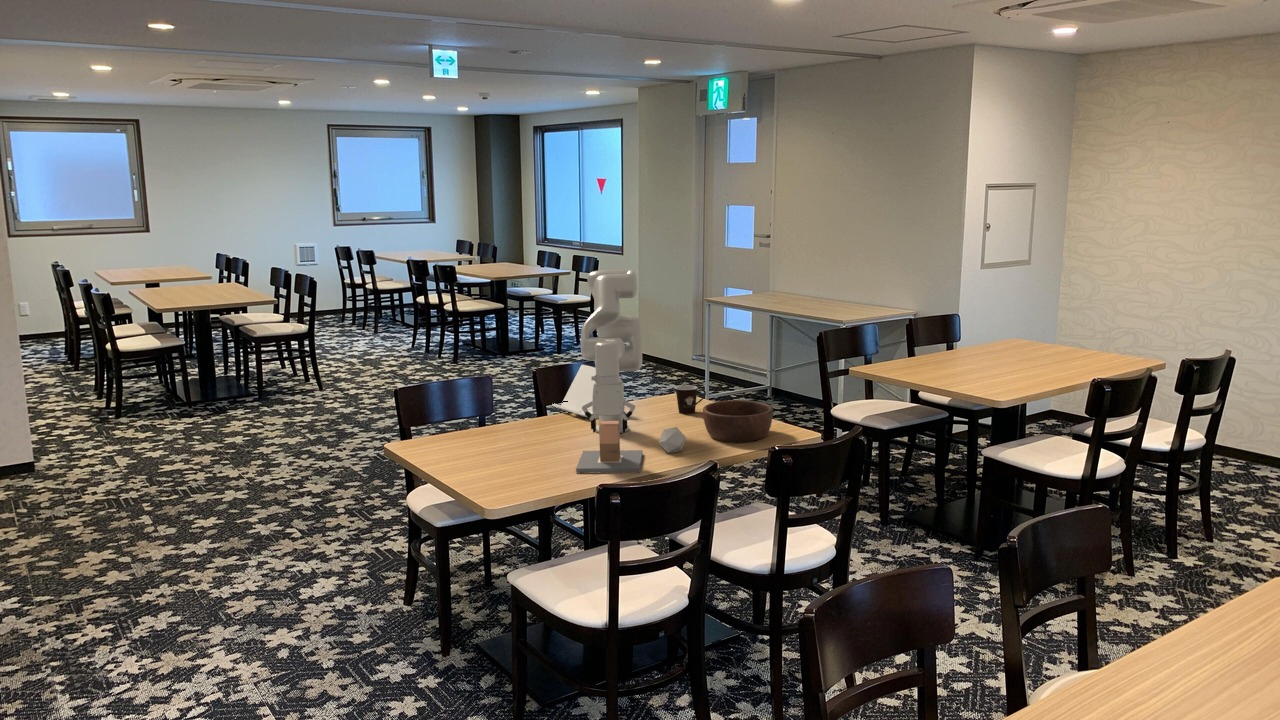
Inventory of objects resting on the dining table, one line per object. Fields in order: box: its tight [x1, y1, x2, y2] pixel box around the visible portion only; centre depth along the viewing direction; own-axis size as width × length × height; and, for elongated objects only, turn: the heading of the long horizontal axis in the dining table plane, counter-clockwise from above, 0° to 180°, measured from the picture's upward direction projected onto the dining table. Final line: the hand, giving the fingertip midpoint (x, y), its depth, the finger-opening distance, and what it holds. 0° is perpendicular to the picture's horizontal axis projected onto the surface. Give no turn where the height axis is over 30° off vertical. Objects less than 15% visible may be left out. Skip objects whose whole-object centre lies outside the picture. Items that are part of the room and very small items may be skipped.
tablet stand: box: [552, 364, 599, 420], centre depth 378 cm, size 18×25×17 cm
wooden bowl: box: [702, 399, 774, 443], centre depth 337 cm, size 25×25×10 cm
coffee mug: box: [675, 384, 707, 415], centre depth 372 cm, size 12×9×10 cm
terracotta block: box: [598, 421, 621, 445], centre depth 306 cm, size 6×6×6 cm
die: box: [658, 426, 687, 454], centre depth 320 cm, size 8×9×10 cm
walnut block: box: [599, 438, 621, 462], centre depth 307 cm, size 6×6×6 cm
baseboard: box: [575, 449, 644, 474], centre depth 308 cm, size 20×20×2 cm
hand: (609, 431), depth 306 cm, fingers open, 9 cm apart
